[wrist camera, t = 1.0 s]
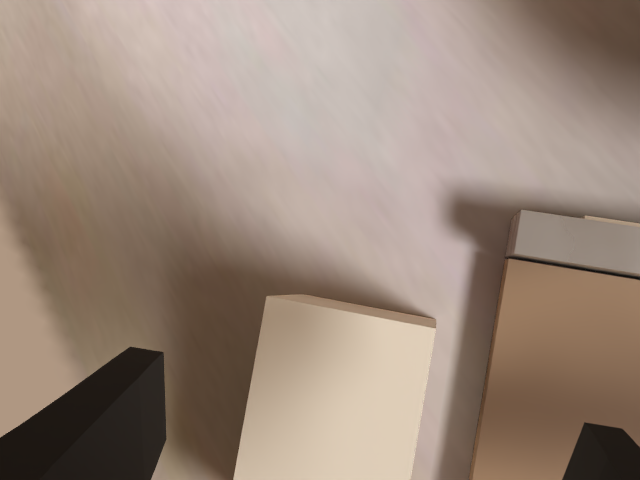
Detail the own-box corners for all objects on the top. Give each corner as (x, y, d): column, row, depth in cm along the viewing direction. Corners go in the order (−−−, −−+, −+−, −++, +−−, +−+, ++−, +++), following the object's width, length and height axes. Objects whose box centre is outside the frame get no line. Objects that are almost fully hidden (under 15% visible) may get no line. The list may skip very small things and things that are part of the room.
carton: (398, 541, 21) (387, 617, 16) (263, 505, 22) (215, 567, 17) (436, 319, 22) (436, 328, 17) (302, 293, 23) (265, 295, 18)
